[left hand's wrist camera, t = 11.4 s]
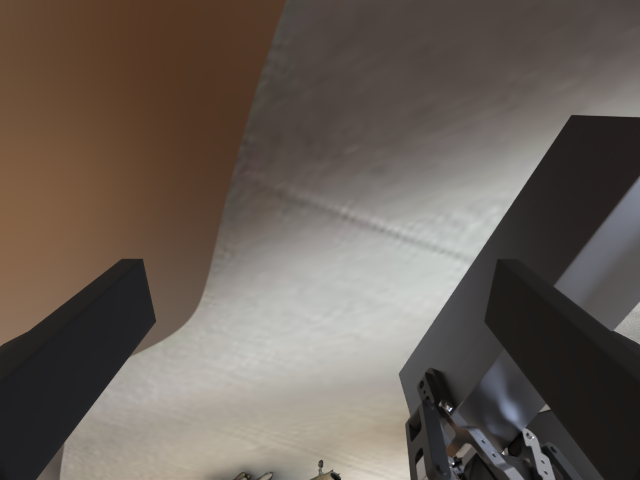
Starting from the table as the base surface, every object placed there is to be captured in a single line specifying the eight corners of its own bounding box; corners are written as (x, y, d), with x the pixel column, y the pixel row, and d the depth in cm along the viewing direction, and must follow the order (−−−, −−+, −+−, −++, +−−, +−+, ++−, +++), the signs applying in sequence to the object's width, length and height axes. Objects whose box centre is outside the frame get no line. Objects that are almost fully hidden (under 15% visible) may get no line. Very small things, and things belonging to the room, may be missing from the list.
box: (571, 114, 25) (686, 118, 17) (631, 145, 26) (767, 163, 18) (398, 373, 35) (421, 454, 27) (446, 391, 35) (482, 474, 27)
